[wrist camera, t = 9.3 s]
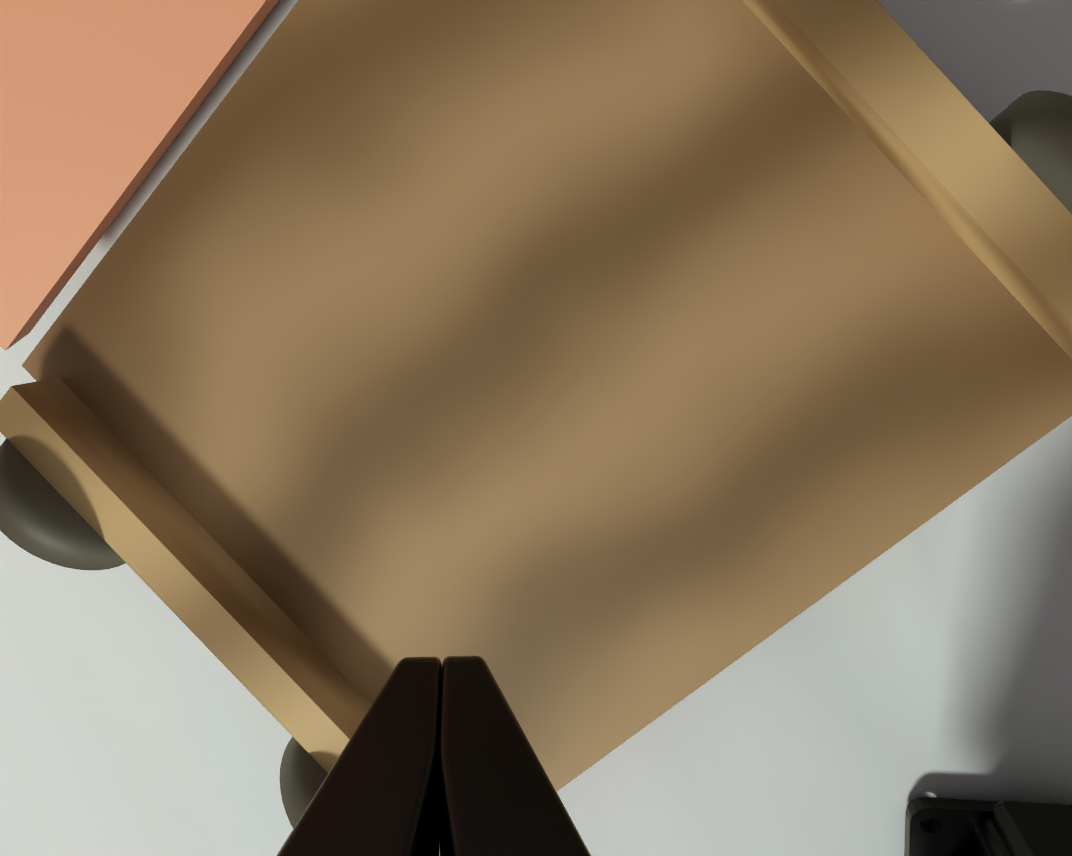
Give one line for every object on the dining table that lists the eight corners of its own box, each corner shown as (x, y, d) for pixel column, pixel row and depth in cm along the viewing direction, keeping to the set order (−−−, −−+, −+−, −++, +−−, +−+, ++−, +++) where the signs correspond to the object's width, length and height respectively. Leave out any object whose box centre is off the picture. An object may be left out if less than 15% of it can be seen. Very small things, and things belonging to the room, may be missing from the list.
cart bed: (1154, 306, 17) (1311, 319, 13) (458, 827, 23) (407, 952, 19) (597, -303, 16) (567, -501, 12) (46, 397, 23) (-99, 427, 19)
